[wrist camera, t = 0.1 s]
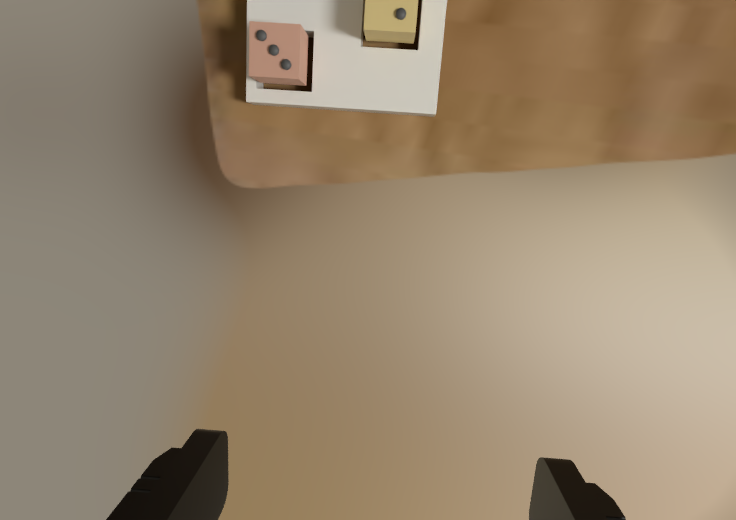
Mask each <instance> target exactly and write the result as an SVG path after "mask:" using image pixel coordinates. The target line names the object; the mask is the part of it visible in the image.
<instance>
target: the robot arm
mask: <svg viewBox="0 0 736 520" xmlns="http://www.w3.org/2000/svg"><path fill="white" fill-rule="evenodd" d="M227 491H228V436H227V433H226V432H225V431H217V430H205V429H196V430H195V431H194V432H193V433H192V435H191V436H190V437H189V439H188V440H187V441H186V443H185V444H184V446H183V447H182V448H171V449H169V450H168V451H166V452H165V453H163V454H162V455H160V456H159V457H157V458H156V459H154V460H153V461H152V463H151V464H150V465H149V466H148V468H147V469H146V470H145V471H144V473H143V474H142V475H141V478H140V479H138V480H137V482H136V483H135V484H134V485H133V487H132V488H131V491H130V492H128V493H127V494H126V495H125V497H124V498H123V499H122V500H121V502H120V503H119V504H118V505H117V507H116V508H115V509H114V511H113V512H112V513H111V514H110V516H109V517H108V518H107V519H106V520H218V518H219V516H220V514H221V512H222V509H223V507H224V504H225V501H226V496H227ZM529 520H625V516H624V515H623V513H622V512H621V510H620V509H619V507H618V506H617V504H616V502H615V501H614V500H613V499H612V498H611V497H610V496H609V495H608V494H607V493H605V492H604V491H603V490H602V489H601V488H600V487H598V486H597V485H596V484H595V483H585V481H584V479H583V478H582V476H581V474H580V473H579V471H578V469H577V468H576V466H575V464H574V463H573V462H572V461H571V460H565V459H553V458H539V459H538V461H537V464H536V471H535V477H534V484H533V490H532V497H531V502H530V509H529Z"/></svg>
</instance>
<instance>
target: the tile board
mask: <svg viewBox="0 0 736 520" xmlns="http://www.w3.org/2000/svg"><path fill="white" fill-rule="evenodd" d="M446 5H447V0H422V1H421V13H420V25H419V37H418V48H417V50H407V49H391V48H374V47H363V31H364V14H365V0H247V54H246V102H248V103H251V104H253V105H266V106H281V107H296V108H311V109H326V110H341V111H356V112H371V113H386V114H401V115H416V116H431V117H434V116H435V115H436V109H437V98H438V88H439V78H440V67H441V57H442V46H443V36H444V26H445V15H446ZM249 21H255V22H271V23H288V24H301V26H302V27H303V29H304V30H305V32H306V33H307V35H308V37H312V38H314V49H313V74H312V92H304V91H289V90H274V89H263V83H260V82H258V81H257V80H255V79H253V78H251V77H250V76H249Z"/></svg>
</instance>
